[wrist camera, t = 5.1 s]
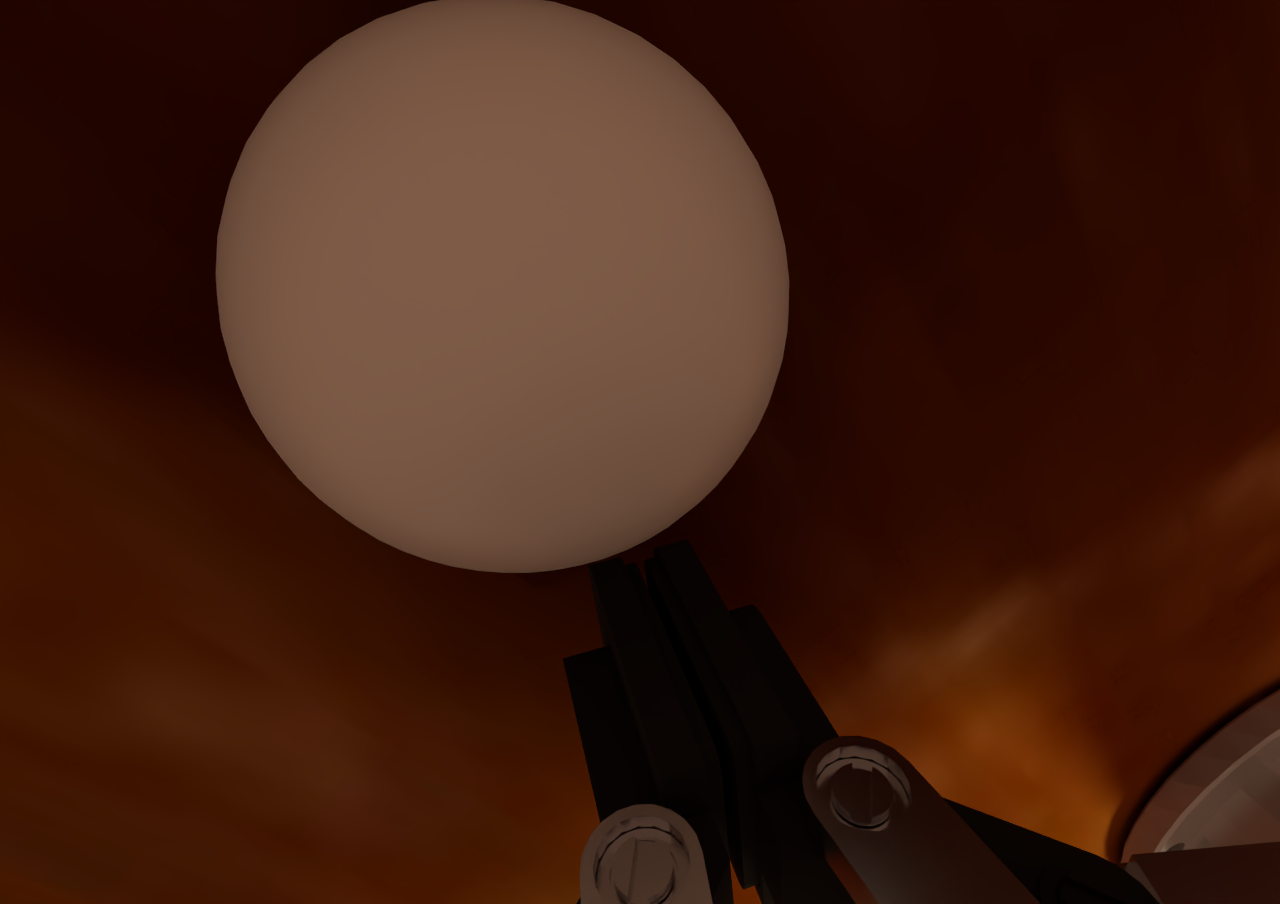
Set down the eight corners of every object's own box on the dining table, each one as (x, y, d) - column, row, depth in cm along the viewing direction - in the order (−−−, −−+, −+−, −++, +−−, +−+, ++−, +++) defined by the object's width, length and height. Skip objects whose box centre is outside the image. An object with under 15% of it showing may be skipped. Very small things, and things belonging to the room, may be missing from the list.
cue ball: (1037, 162, 4) (773, 28, 8) (-103, -75, 3) (280, -90, 7) (754, 687, 7) (670, 399, 11) (181, 691, 6) (323, 366, 10)
